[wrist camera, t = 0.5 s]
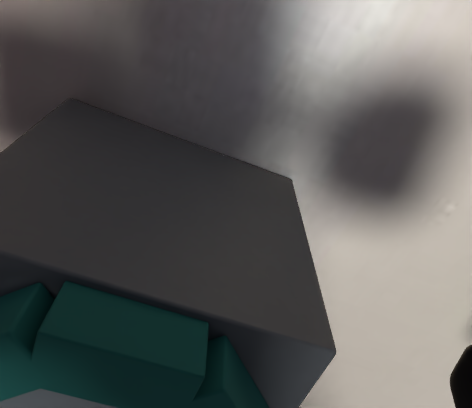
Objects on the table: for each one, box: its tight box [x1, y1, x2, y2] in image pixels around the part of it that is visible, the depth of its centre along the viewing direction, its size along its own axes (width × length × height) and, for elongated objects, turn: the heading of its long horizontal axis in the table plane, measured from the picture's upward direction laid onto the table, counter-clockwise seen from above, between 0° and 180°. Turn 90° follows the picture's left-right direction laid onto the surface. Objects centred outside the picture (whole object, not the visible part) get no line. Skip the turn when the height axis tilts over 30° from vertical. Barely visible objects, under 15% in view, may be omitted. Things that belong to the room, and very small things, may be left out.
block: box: [0, 98, 336, 408], centre depth 17 cm, size 10×10×10 cm
